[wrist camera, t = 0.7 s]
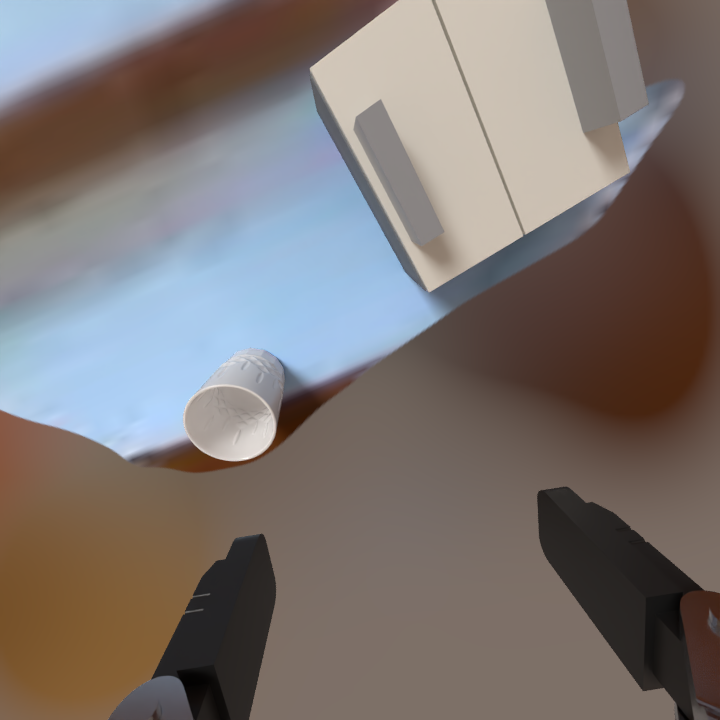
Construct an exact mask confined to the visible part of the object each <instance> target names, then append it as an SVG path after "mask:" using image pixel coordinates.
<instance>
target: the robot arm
mask: <svg viewBox="0 0 720 720" xmlns="http://www.w3.org/2000/svg"><path fill="white" fill-rule="evenodd" d="M537 499H538V500H537V502H538V523H539V539H540V543H541V546H542V549H543V552H544V554H545V556H546V558H547V560H548V561H549V563H550V564H551V565H552V567H553V568H554V570H555V571H556V572H557V574H558V575H559V576H560V578H561V579H562V581H563V582H564V583H565V585H566V586H567V587H568V589H569V590H570V592H571V593H572V594H573V596H574V597H575V598H576V600H577V601H578V602H579V604H580V605H581V607H582V608H583V609H584V611H585V612H586V613H587V615H588V616H589V618H590V619H591V620H592V622H593V623H594V624H595V626H596V627H597V629H598V630H599V631H600V633H601V634H602V635H603V637H604V638H605V640H606V641H607V642H608V643H609V645H610V646H611V648H612V649H613V651H614V652H615V653H616V655H617V656H618V657H619V659H620V660H621V661H622V663H623V664H624V666H625V667H626V668H627V670H628V671H629V672H630V674H631V675H632V676H633V678H634V679H635V681H636V682H637V683H638V685H639V686H640V687H641V689H642V690H643V691H647V690H653V689H660V688H665V690H666V691H667V692H668V693H669V694H670V696H671V697H672V698H673V700H674V701H675V703H674V715H675V720H720V593H717V592H712V591H705V590H703V589H702V588H701V587H700V586H699V585H698V584H696V583H695V582H694V581H693V580H691V579H690V578H689V577H688V576H687V575H686V574H685V573H683V572H682V571H681V570H680V569H679V568H678V567H676V566H675V565H674V564H673V563H672V562H671V561H669V560H668V559H667V558H666V557H665V556H663V555H662V554H661V553H660V552H659V551H658V550H657V549H655V548H654V547H653V546H652V545H651V544H650V543H648V542H645V540H644V539H643V537H641V536H640V535H639V534H638V533H637V532H635V531H634V530H631V528H630V526H628V525H627V524H626V523H625V522H624V521H623V520H621V519H620V518H619V517H618V516H617V515H616V514H614V513H613V512H611V511H609V510H607V509H605V508H603V507H601V506H599V505H597V504H595V503H593V502H590V503H585V502H584V501H583V500H582V499H581V498H580V497H579V496H578V495H577V494H576V493H574V492H573V491H572V490H571V489H570V488H568V487H560V488H554V489H548V490H541V491H539V492H538V496H537ZM275 598H276V582H275V576H274V572H273V568H272V564H271V560H270V555H269V552H268V547H267V543H266V540H265V537H264V535H263V534H258V535H252V536H245V537H239V538H236V539H235V540H234V542H233V544H232V546H231V548H230V550H229V553H228V555H227V557H226V559H225V560H218V561H216V562H215V563H214V564H213V565H212V567H211V568H210V569H209V570H208V571H207V572H206V573H205V574H204V575H203V577H202V578H201V580H200V582H199V584H198V586H197V588H196V590H195V592H194V594H193V599H191V600H190V602H189V604H188V606H187V608H186V610H185V615H183V616H182V618H181V621H180V622H179V624H178V626H177V628H176V630H175V632H174V634H173V637H172V638H171V640H170V642H169V645H168V647H167V648H166V650H165V652H164V655H163V657H162V659H161V661H160V663H159V665H158V667H157V669H156V671H155V673H154V675H153V677H152V679H151V680H150V681H148V682H146V683H144V684H142V685H141V686H139V687H138V688H136V689H135V690H134V691H133V692H131V693H130V694H129V695H128V696H127V697H126V698H125V699H124V700H123V701H122V702H121V703H120V704H119V705H118V706H117V708H116V709H115V710H114V712H113V713H112V714H111V716H110V718H109V719H108V720H249V716H250V712H251V707H252V703H253V699H254V694H255V690H256V685H257V681H258V676H259V671H260V668H261V663H262V658H263V654H264V649H265V645H266V641H267V636H268V632H269V627H270V623H271V619H272V614H273V610H274V605H275Z"/></svg>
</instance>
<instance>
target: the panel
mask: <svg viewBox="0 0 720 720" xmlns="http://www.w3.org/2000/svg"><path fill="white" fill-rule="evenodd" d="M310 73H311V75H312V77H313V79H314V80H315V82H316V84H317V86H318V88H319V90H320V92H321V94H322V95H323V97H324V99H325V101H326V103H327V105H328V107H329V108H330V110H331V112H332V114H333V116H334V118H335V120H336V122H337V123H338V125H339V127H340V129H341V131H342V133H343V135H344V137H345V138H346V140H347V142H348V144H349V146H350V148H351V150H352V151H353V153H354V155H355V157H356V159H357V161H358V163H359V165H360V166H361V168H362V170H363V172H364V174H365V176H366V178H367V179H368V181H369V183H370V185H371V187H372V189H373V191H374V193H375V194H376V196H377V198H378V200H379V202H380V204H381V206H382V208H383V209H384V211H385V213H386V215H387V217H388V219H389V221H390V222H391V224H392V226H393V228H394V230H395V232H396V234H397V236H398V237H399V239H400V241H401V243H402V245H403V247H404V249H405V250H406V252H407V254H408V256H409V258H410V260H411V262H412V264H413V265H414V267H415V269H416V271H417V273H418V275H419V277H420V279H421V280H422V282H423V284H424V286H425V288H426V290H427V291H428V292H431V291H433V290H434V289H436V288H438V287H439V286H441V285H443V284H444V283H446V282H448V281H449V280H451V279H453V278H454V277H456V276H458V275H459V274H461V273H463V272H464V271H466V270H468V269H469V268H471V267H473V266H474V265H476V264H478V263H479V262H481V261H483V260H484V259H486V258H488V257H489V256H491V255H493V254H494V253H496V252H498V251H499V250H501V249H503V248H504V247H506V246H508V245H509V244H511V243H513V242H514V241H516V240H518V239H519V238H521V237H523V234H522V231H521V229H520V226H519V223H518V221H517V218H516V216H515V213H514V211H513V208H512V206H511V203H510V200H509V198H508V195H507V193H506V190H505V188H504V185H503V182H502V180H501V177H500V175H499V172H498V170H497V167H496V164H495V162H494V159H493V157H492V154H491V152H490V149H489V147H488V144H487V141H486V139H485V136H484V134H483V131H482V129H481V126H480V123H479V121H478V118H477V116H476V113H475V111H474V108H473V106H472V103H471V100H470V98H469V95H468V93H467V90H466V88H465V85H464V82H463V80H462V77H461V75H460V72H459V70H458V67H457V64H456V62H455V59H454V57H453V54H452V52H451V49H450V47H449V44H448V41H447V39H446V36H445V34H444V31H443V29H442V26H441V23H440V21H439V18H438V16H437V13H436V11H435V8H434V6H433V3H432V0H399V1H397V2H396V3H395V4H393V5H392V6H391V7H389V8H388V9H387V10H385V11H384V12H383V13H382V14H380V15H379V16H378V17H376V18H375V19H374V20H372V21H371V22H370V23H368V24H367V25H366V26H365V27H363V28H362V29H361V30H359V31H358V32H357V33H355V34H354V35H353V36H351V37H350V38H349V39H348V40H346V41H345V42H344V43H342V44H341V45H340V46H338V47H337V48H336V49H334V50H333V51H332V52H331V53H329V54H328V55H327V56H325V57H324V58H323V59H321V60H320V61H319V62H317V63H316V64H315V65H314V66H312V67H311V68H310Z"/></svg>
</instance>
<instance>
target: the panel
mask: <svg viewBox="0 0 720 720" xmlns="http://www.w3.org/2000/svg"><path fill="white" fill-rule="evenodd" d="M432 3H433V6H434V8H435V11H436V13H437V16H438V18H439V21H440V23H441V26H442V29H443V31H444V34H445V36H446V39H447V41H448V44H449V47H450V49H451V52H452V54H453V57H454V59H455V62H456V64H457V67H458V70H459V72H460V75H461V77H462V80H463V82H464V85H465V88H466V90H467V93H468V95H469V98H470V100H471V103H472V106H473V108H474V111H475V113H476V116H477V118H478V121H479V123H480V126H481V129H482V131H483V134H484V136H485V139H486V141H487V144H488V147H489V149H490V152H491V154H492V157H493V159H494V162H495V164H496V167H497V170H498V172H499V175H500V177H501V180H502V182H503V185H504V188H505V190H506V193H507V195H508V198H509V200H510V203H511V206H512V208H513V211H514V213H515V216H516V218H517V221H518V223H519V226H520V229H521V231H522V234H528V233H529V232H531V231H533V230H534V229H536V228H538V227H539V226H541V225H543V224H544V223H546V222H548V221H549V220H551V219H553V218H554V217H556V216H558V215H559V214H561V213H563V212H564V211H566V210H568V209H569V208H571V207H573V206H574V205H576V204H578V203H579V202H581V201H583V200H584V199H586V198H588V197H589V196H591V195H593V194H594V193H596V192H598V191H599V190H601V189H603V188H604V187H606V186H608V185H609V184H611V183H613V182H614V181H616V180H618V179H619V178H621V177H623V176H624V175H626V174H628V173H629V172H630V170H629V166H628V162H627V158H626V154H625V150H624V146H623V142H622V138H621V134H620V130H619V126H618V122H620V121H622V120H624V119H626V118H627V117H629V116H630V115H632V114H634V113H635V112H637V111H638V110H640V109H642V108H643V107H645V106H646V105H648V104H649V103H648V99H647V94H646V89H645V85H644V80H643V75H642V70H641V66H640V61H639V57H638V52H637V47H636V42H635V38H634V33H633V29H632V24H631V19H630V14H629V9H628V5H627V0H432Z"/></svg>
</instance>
